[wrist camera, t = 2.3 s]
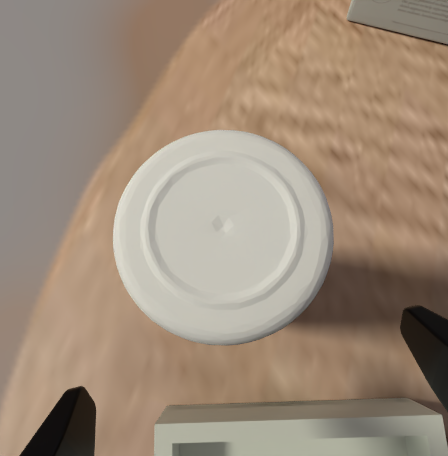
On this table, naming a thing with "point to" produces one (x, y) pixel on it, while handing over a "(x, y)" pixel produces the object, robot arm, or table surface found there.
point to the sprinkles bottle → (223, 237)
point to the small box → (404, 16)
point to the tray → (302, 429)
